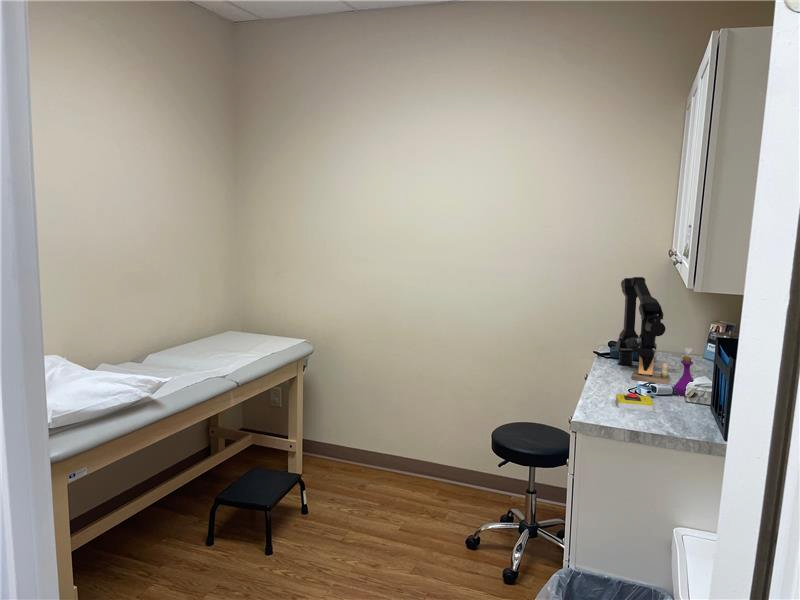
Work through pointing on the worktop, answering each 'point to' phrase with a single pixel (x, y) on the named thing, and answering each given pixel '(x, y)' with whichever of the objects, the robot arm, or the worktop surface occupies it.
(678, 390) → the perfume bottle
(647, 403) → the emergency button
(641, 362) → the kraft paper carton
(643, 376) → the wooden holder
